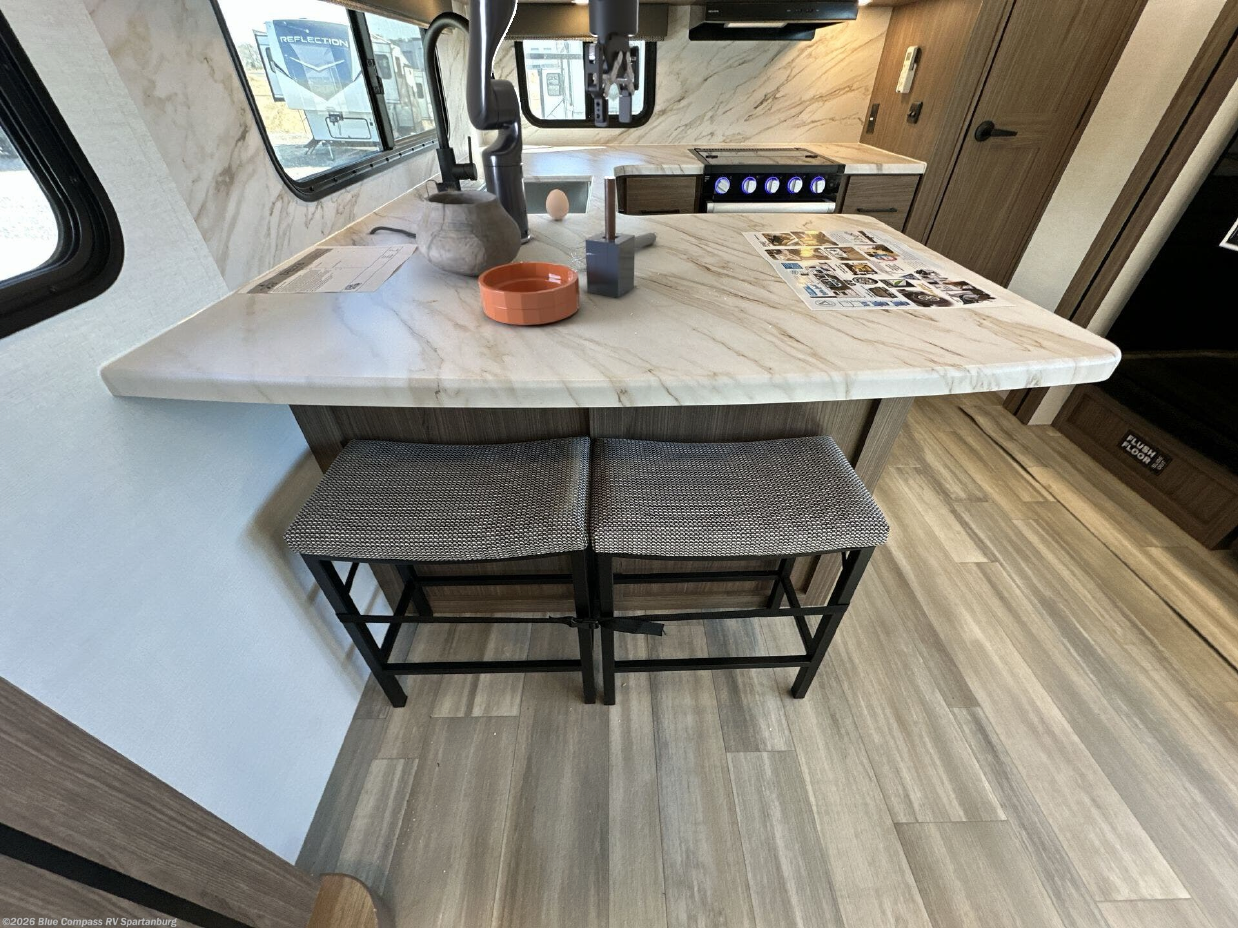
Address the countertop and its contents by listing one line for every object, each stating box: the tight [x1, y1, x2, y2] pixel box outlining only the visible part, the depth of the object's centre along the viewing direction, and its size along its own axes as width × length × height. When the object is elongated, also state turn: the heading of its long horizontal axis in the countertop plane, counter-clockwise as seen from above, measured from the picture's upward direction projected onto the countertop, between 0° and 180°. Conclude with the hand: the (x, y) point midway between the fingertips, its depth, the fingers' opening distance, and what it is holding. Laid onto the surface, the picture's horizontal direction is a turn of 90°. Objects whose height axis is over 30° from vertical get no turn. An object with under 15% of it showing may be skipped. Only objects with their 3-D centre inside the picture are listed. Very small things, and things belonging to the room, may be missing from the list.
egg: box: [545, 189, 570, 221], centre depth 146 cm, size 7×7×8 cm
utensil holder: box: [584, 230, 636, 299], centre depth 99 cm, size 7×7×10 cm
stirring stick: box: [603, 176, 617, 240], centre depth 96 cm, size 2×2×20 cm
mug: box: [425, 179, 458, 197], centre depth 137 cm, size 8×6×12 cm
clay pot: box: [415, 189, 522, 277], centre depth 106 cm, size 22×21×15 cm
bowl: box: [477, 260, 581, 326], centre depth 92 cm, size 18×18×6 cm
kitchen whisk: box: [570, 231, 658, 273], centre depth 118 cm, size 6×34×6 cm, turn 146°
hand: (613, 124), depth 86 cm, fingers open, 8 cm apart
